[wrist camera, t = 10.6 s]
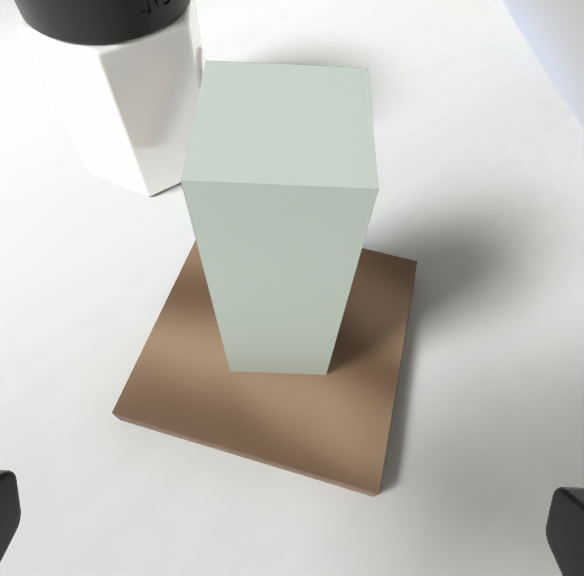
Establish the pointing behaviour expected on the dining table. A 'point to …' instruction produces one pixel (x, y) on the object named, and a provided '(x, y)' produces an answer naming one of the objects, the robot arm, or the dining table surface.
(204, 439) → the plate
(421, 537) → the dining table surface
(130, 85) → the jar
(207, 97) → the pale green square post
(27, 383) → the dining table surface
